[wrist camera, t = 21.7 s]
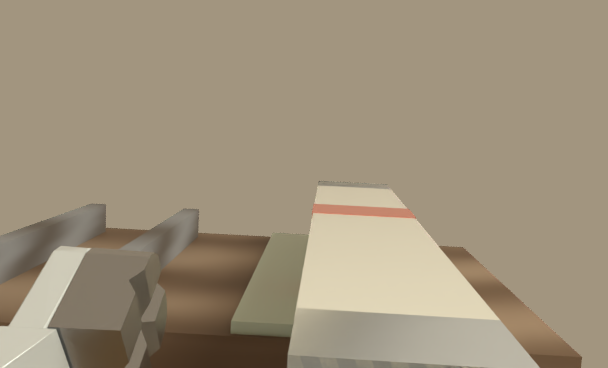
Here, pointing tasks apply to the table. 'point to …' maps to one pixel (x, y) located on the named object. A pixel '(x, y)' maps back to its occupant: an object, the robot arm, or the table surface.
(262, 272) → the plate
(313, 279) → the red-banded cream beam
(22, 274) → the cabinet
